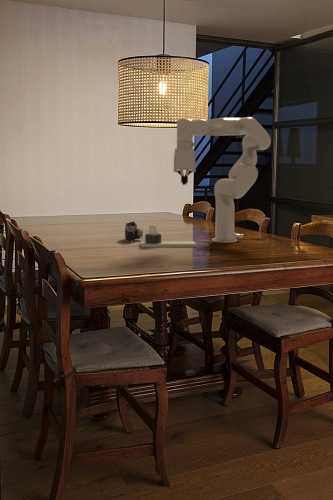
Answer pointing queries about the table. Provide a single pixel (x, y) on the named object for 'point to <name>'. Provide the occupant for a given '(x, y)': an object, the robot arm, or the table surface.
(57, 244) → the table surface
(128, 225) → the camera
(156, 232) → the cylinder
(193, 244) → the board
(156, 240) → the black faceted cup
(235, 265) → the table surface
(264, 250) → the table surface
